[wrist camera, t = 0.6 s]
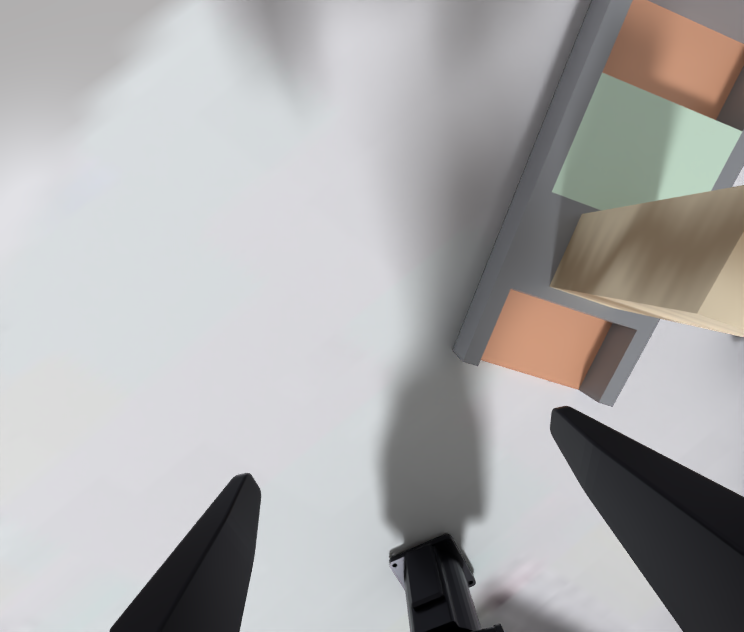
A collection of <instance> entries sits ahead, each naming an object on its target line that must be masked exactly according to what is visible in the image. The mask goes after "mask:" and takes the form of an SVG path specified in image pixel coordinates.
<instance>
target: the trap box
mask: <svg viewBox="0 0 744 632" xmlns="http://www.w3.org/2000/svg"><path fill="white" fill-rule="evenodd" d="M743 166H744V0H592V1H591V4H590V6H589V9H588V11H587V14H586V16H585V19H584V21H583V24H582V26H581V29H580V31H579V34H578V36H577V39H576V41H575V44H574V46H573V49H572V51H571V54H570V56H569V59H568V61H567V64H566V66H565V69H564V71H563V74H562V76H561V79H560V82H559V84H558V87H557V89H556V92H555V94H554V97H553V99H552V102H551V104H550V107H549V109H548V112H547V114H546V117H545V119H544V122H543V124H542V127H541V129H540V132H539V134H538V137H537V139H536V142H535V144H534V147H533V149H532V152H531V154H530V157H529V159H528V162H527V164H526V167H525V169H524V172H523V174H522V177H521V179H520V182H519V184H518V187H517V190H516V192H515V195H514V197H513V200H512V202H511V205H510V207H509V210H508V212H507V215H506V217H505V220H504V222H503V225H502V227H501V230H500V232H499V235H498V237H497V240H496V242H495V245H494V247H493V250H492V252H491V255H490V257H489V260H488V262H487V265H486V267H485V270H484V272H483V275H482V277H481V280H480V282H479V285H478V287H477V290H476V292H475V295H474V297H473V300H472V303H471V305H470V308H469V310H468V313H467V315H466V318H465V320H464V323H463V325H462V328H461V330H460V333H459V335H458V338H457V340H456V343H455V345H454V348H453V351H454V352H455V353H456V355H457V356H458V357H459V358H460V359H461V360H462V361H463V362H466V363H469V364H473V365H476V366H478V365H479V363H480V360H483V361H486V362H489V363H492V364H496V365H499V366H502V367H506V368H509V369H512V370H515V371H519V372H522V373H525V374H529V375H532V376H535V377H538V378H542V379H545V380H548V381H551V382H555V383H558V384H561V385H565V386H568V387H571V388H574V389H578V390H580V391H581V392H583V393H584V394H586V395H588V396H589V397H591V398H592V399H594V400H595V401H597V402H598V403H602V404H605V405H608V406H611V407H613V405H614V403H615V401H616V399H617V398H618V396H619V394H620V392H621V390H622V388H623V387H624V385H625V383H626V381H627V379H628V377H629V376H630V374H631V372H632V370H633V368H634V366H635V364H636V363H637V361H638V359H639V357H640V355H641V353H642V352H643V350H644V348H645V346H646V344H647V342H648V341H649V339H650V337H651V335H652V333H653V331H654V329H655V328H656V326H657V324H658V322H659V320H660V318H655V317H651V316H646V315H642V314H637V313H633V312H628V311H624V310H619V309H615V308H611V307H608V306H605V305H602V304H599V303H596V302H593V301H590V300H587V299H585V298H582V297H579V296H576V295H573V294H570V293H567V292H564V291H561V290H558V289H555V288H552V287H549V286H550V284H551V281H552V279H553V277H554V275H555V273H556V270H557V268H558V266H559V264H560V261H561V259H562V257H563V255H564V253H565V250H566V248H567V246H568V244H569V241H570V239H571V237H572V235H573V233H574V230H575V228H576V226H577V224H578V221H579V219H580V217H581V215H582V214H585V213H590V212H596V211H602V210H607V209H613V208H618V207H624V206H630V205H635V204H641V203H646V202H652V201H658V200H663V199H669V198H674V197H680V196H686V195H691V194H697V193H703V192H708V191H714V190H719V189H725V188H731V187H732V186H733V184H734V182H735V180H736V179H737V177H738V175H739V173H740V171H741V169H742V167H743Z"/></svg>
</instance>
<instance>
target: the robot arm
mask: <svg viewBox="0 0 744 632" xmlns="http://www.w3.org/2000/svg"><path fill="white" fill-rule="evenodd" d="M550 431H551V434H552V436H553V438H554V440H555V442H556V443H557V445H558V447H559V449H560V450H561V452H562V454H563V456H564V457H565V459H566V461H567V463H568V464H569V466H570V468H571V470H572V471H573V473H574V475H575V476H576V478H577V480H578V482H579V483H580V485H581V487H582V488H583V490H584V491H585V493H586V494H587V496H588V497H589V499H590V500H591V502H592V503H593V504H594V506H595V507H596V509H597V510H598V512H599V513H600V514H601V516H602V517H603V519H604V520H605V521H606V523H607V524H608V526H609V527H610V529H611V530H612V531H613V533H614V534H615V536H616V537H617V539H618V540H619V541H620V543H621V544H622V546H623V547H624V548H625V550H626V551H627V553H628V554H629V556H630V557H631V558H632V560H633V561H634V563H635V564H636V565H637V567H638V568H639V570H640V571H641V573H642V574H643V575H644V577H645V578H646V580H647V581H648V582H649V584H650V585H651V587H652V588H653V590H654V591H655V592H656V594H657V595H658V597H659V598H660V599H661V601H662V602H663V604H664V605H665V607H666V608H667V609H668V611H669V612H670V614H671V615H672V616H673V618H674V619H675V621H676V622H677V624H678V625H679V626H680V628H681V629H682V631H683V632H744V497H743V496H741V495H739V494H737V493H735V492H733V491H731V490H729V489H727V488H725V487H723V486H722V485H720V484H718V483H716V482H714V481H712V480H710V479H708V478H706V477H704V476H702V475H700V474H698V473H697V472H695V471H693V470H691V469H689V468H687V467H685V466H683V465H681V464H679V463H677V462H675V461H673V460H672V459H670V458H668V457H666V456H664V455H662V454H660V453H658V452H656V451H654V450H652V449H650V448H648V447H647V446H645V445H643V444H641V443H639V442H637V441H635V440H633V439H631V438H629V437H627V436H625V435H623V434H621V433H620V432H618V431H616V430H614V429H612V428H610V427H608V426H606V425H604V424H602V423H600V422H598V421H596V420H595V419H593V418H591V417H589V416H587V415H585V414H583V413H581V412H579V411H577V410H575V409H573V408H571V407H569V406H563V407H558V408H554V409H553V410H552V414H551V423H550ZM260 503H261V491H260V488H259V486H258V485H257V483H256V481H255V480H254V478H253V477H252V475H251V474H250V473H244V474H239V475H236V476H235V477H233V478H232V479H231V481H230V482H229V483H228V484H227V486H226V487H225V488H224V489H223V491H222V492H221V493H220V494H219V495H218V497H217V498H216V499H215V500H214V502H213V503H212V504H211V505H210V507H209V508H208V509H207V510H206V511H205V513H204V514H203V515H202V516H201V518H200V519H199V520H198V521H197V523H196V524H195V525H194V526H193V527H192V529H191V530H190V531H189V532H188V534H187V535H186V536H185V537H184V539H183V540H182V541H181V542H180V543H179V545H178V546H177V547H176V548H175V550H174V551H173V552H172V553H171V555H170V556H169V557H168V558H167V559H166V561H165V562H164V563H163V564H162V566H161V567H160V568H159V569H158V571H157V572H156V573H155V574H154V575H153V577H152V578H151V579H150V580H149V582H148V583H147V584H146V585H145V587H144V588H143V589H142V590H141V592H140V593H139V594H138V595H137V596H136V598H135V599H134V600H133V601H132V603H131V604H130V605H129V606H128V608H127V609H126V610H125V611H124V612H123V614H122V615H121V616H120V617H119V619H118V620H117V621H116V622H115V624H114V625H113V626H112V627H111V629H110V632H239V631H240V626H241V621H242V616H243V611H244V606H245V601H246V597H247V592H248V587H249V582H250V577H251V572H252V567H253V561H254V555H255V548H256V539H257V530H258V521H259V512H260ZM389 564H390V568H391V569H392V571H393V573H394V574H395V576H396V577H397V579H398V580H399V582H400V583H401V585H402V586H403V588H404V590H405V592H406V600H407V609H408V617H409V625H410V632H504V631H503V629H502V626H501V624H498V625H494V627H491V628H486V629H481V626H480V623H479V619H478V616H477V613H476V610H475V607H474V603H473V600H472V597H471V594H470V590H469V587H472V586H474V585H475V583H476V581H475V578H474V576H473V574H472V572H471V570H470V569H469V567H468V565H467V563H466V561H465V560H464V558H463V556H462V554H461V553H460V551H459V549H458V547H457V545H456V544H455V542H454V540H453V538H452V537H451V535H449V534H445V535H443V536H440V537H438V538H436V539H433V540H431V541H429V542H426V543H424V544H422V545H420V546H417V547H415V548H413V549H410V550H408V551H406V552H403V553H401V554H399V555H396V556H394V557H392V558H391V559H390V560H389Z"/></svg>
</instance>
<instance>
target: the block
mask: <svg viewBox="0 0 744 632" xmlns="http://www.w3.org/2000/svg"><path fill="white" fill-rule="evenodd" d="M549 287H552V288H555V289H558V290H561V291H564V292H567V293H570V294H573V295H576V296H579V297H582V298H585V299H587V300H590V301H593V302H596V303H599V304H602V305H605V306H608V307H611V308H615V309H619V310H624V311H628V312H633V313H637V314H642V315H646V316H651V317H655V318H660V319H664V320H669V321H673V322H678V323H682V324H687V325H691V326H696V327H700V328H705V329H709V330H714V331H718V332H723V333H727V334H732V335H736V336H741V337H744V185H742V186H736V187H731V188H725V189H719V190H714V191H708V192H703V193H697V194H691V195H686V196H680V197H674V198H669V199H663V200H658V201H652V202H646V203H641V204H635V205H630V206H624V207H618V208H613V209H607V210H602V211H596V212H590V213H585V214H582V215H581V217H580V219H579V221H578V224H577V226H576V228H575V230H574V233H573V235H572V237H571V239H570V241H569V244H568V246H567V248H566V250H565V253H564V255H563V257H562V259H561V261H560V264H559V266H558V268H557V270H556V273H555V275H554V277H553V279H552V281H551V284H550V286H549Z"/></svg>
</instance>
